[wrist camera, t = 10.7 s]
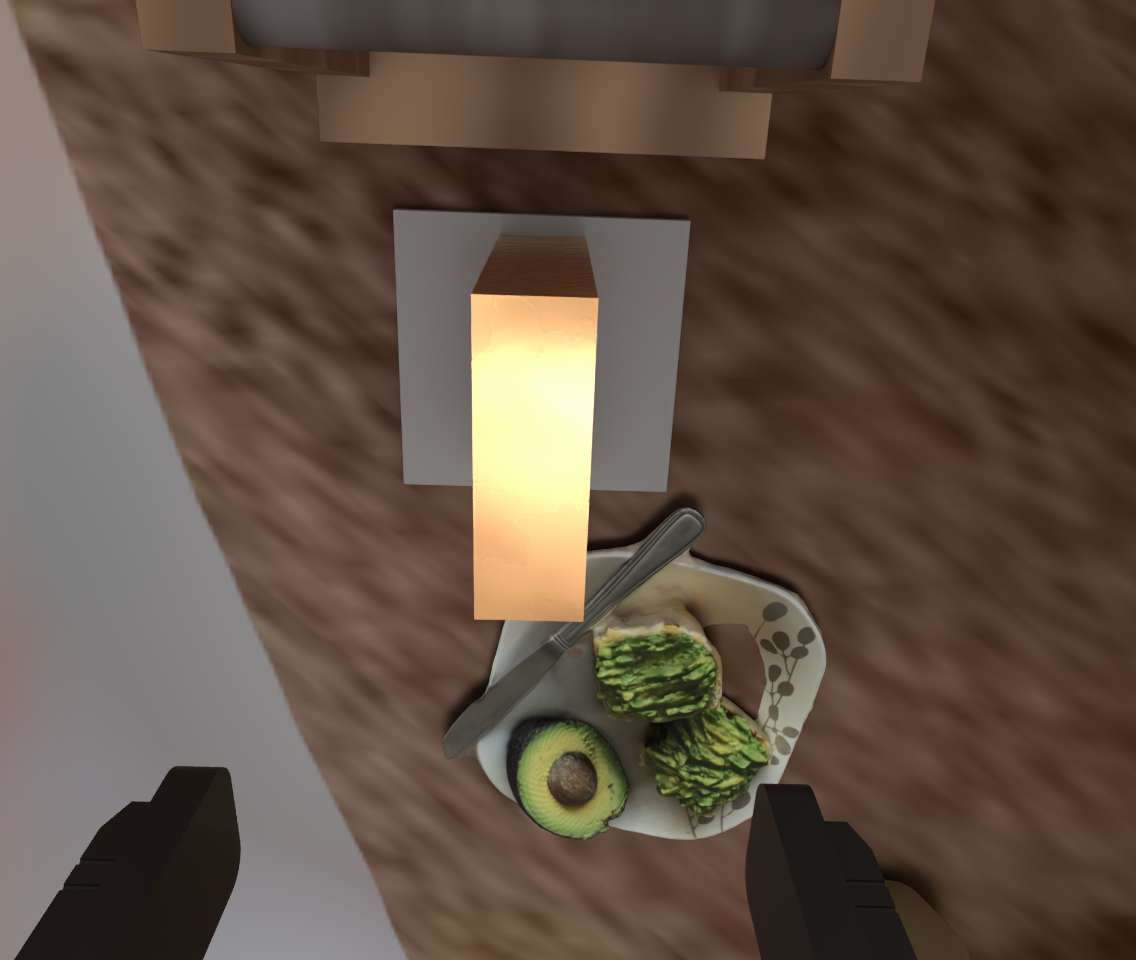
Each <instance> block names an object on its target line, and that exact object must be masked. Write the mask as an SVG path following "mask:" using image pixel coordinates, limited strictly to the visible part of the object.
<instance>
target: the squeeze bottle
mask: <svg viewBox="0 0 1136 960" xmlns="http://www.w3.org/2000/svg"><path fill="white" fill-rule="evenodd" d="M884 880H885V879H884ZM885 887H888V890H889V892H890V894H891V897H892V899H893V902H894V904H895V906H896V907H895V910H896V913H898V914H899V916H900V918H901V921H902V923H903V926H904V928H905V930H906V933H907V935H908V938H909V940H910V942H911V945H912V947H913V950H914V952H915V954H916V957H917V959H918V960H970V957H969V954H968V951H967V949H966V947H965V946H964V944H963V943H962V941H961V940H960V938H959V937H958V935H957V934H956V932H955V931H954V930H953V929H952V928H951V927H950V926H949V925H948V924H947V923H946V922H945V921H944V920H943V919H942V918H941V917H940V916H939V915H938V914H937V912H936V911H935V910H934V909H933V908H932V907H931V906H930V905H929V904H928V903H927V902H926V901H925V900H924V899H923V898H922V897H921V896H920V895H919V894H918V893H917V892H916V891H915V890H914V889H912V888H910V887H908V886H907V885H905V884H903V883H901V882H898V881H891V880H885Z"/></svg>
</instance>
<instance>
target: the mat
mask: <svg viewBox="0 0 1136 960" xmlns="http://www.w3.org/2000/svg"><path fill="white" fill-rule="evenodd" d="M393 220H394V245H395V270H396V295H397V320H398V346H399V371H400V396H401V421H402V446H403V471H404V484H421V485H453V486H473V438H472V344H471V293H472V291H473V289H474V287H475V285H476V283H477V281H478V278H479V276H480V274H481V272H482V270H483V268H484V266H485V264H486V262H487V260H488V258H489V255H490V253H491V251H492V249H493V247H494V245H495V243H496V241H497V239H498V237H499V235H500V234H508V235H539V236H569V237H586V241H587V246H588V250H589V255H590V260H591V265H592V269H593V274H594V279H595V284H596V288H597V293H598V298H599V299H598V320H597V341H596V363H595V384H594V406H593V427H592V448H591V470H590V490H617V491H650V492H666V490H667V479H668V468H669V457H670V445H671V434H672V423H673V412H674V401H675V390H676V378H677V367H678V356H679V345H680V334H681V323H682V311H683V300H684V289H685V278H686V267H687V255H688V244H689V233H690V222H691V221H690V220H689V219H663V218H637V217H611V216H584V215H558V214H532V213H505V212H479V211H453V210H426V209H400V208H395V209H394V210H393Z"/></svg>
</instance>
